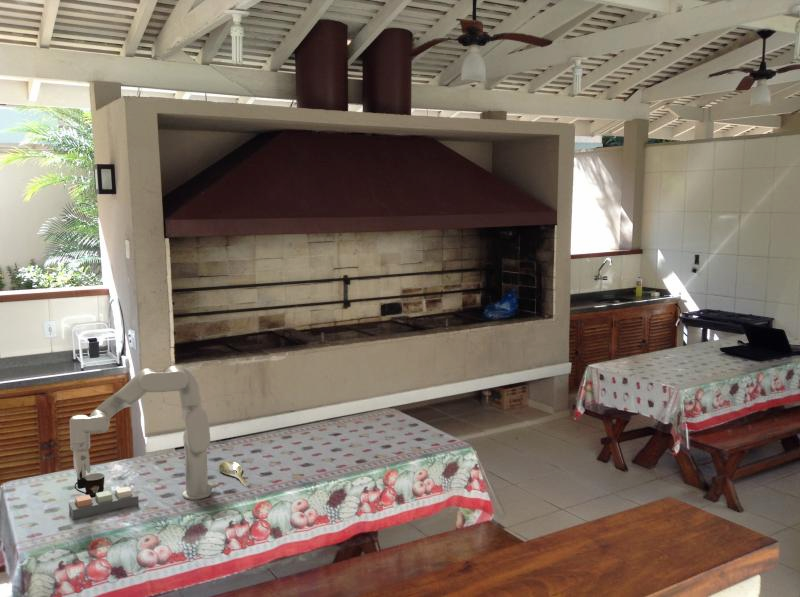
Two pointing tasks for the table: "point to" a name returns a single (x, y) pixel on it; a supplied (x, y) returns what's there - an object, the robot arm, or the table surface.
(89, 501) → the button terracotta
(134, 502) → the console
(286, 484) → the table surface
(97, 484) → the coffee mug
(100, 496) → the button sage
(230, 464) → the spoon
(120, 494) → the button cream
